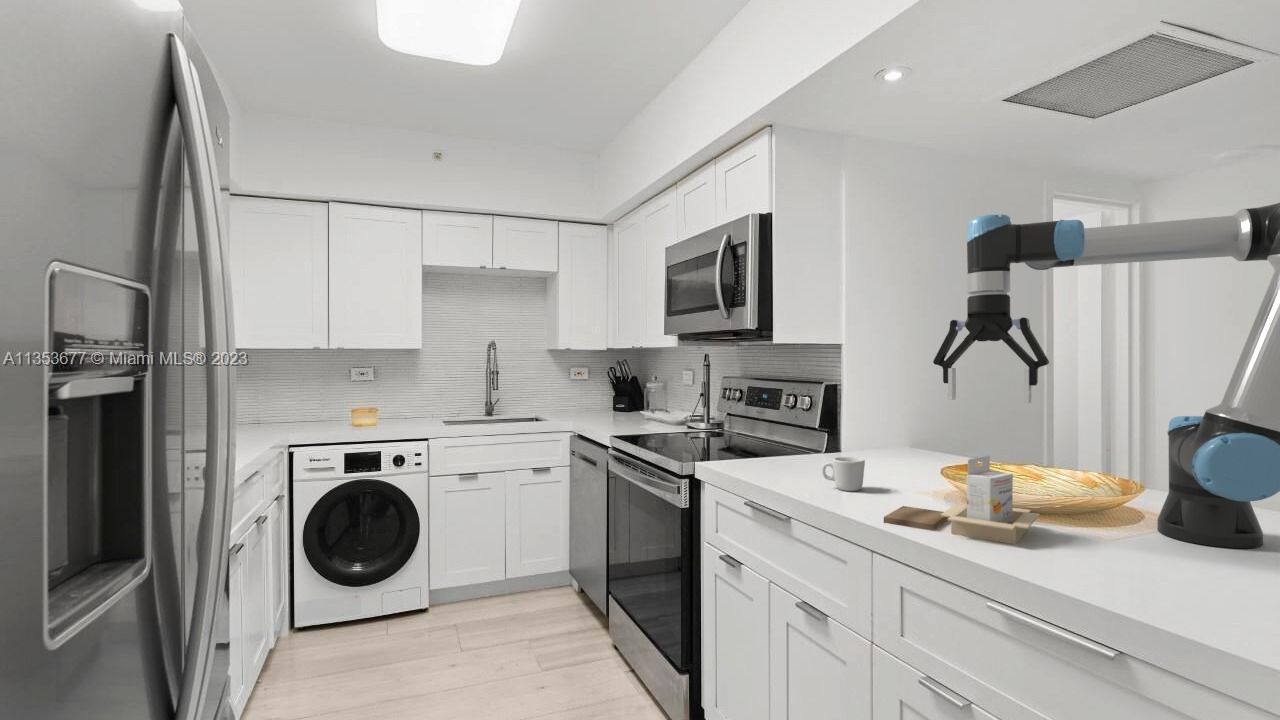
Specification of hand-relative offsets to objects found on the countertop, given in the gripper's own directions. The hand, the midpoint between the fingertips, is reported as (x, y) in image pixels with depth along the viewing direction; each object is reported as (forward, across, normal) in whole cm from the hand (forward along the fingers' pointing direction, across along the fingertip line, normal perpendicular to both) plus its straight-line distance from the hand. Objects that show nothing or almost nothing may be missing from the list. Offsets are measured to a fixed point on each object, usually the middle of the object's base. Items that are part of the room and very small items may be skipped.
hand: (988, 401), depth 129 cm
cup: (+26, +39, -20) cm, 51 cm away
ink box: (+26, 0, 0) cm, 26 cm away
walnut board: (+26, +14, 0) cm, 30 cm away
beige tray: (+26, 0, 0) cm, 26 cm away
